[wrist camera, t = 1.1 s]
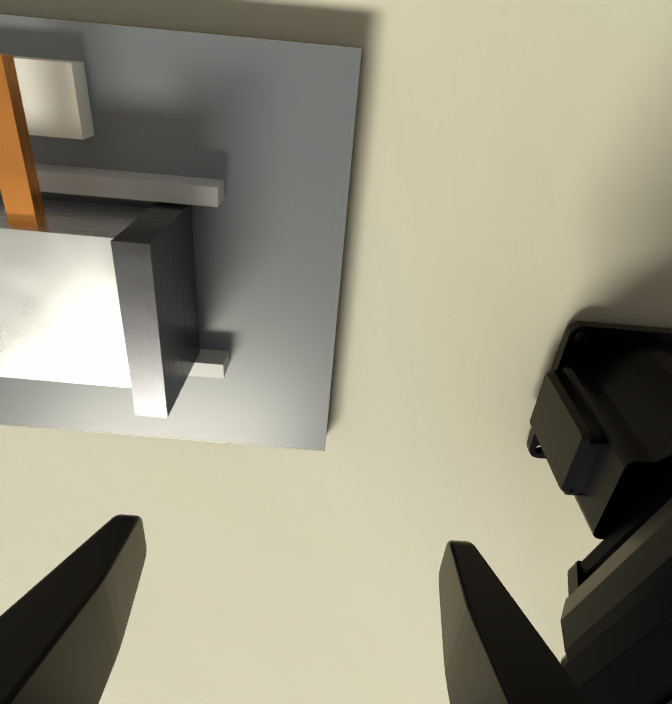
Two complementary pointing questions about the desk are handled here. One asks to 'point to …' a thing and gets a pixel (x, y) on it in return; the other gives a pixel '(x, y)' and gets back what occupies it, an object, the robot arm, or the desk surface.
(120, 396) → the board
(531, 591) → the desk surface
